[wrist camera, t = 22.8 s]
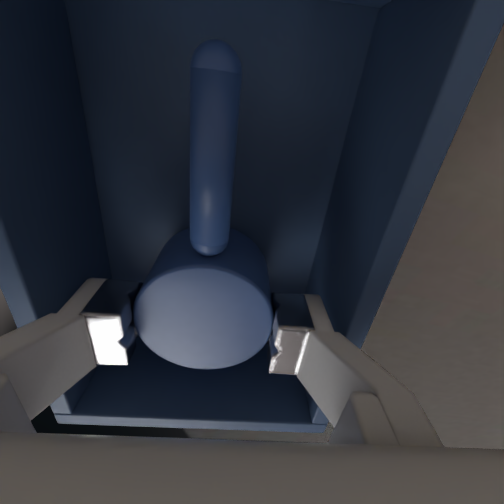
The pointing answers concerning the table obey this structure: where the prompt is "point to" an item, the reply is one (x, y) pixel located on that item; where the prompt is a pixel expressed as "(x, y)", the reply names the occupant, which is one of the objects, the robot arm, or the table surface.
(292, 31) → the blue bin
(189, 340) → the blue scoop
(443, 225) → the table surface
